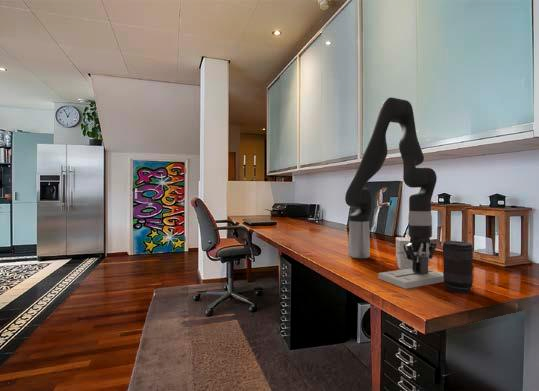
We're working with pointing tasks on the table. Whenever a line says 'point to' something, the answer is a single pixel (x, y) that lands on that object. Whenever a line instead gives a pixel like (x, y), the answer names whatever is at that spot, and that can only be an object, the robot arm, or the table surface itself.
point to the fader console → (411, 278)
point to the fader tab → (423, 264)
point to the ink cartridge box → (402, 253)
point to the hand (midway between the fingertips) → (420, 271)
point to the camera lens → (458, 266)
